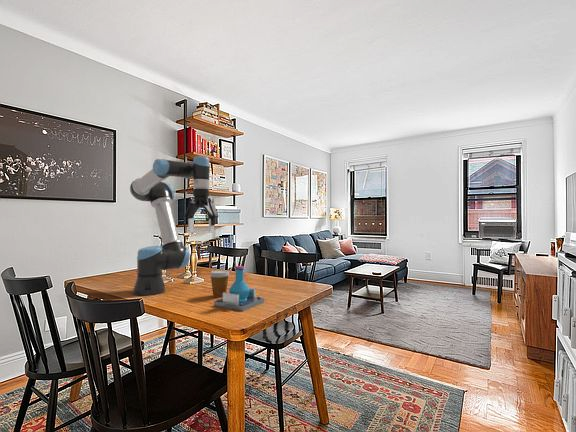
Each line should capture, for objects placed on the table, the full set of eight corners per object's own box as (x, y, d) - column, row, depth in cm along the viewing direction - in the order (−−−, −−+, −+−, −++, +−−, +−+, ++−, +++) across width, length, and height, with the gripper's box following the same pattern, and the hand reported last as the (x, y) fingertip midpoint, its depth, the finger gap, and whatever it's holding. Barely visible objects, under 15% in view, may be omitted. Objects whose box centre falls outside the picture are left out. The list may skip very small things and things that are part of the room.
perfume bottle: (230, 297, 150) (230, 264, 150) (249, 296, 151) (250, 264, 151) (228, 302, 141) (228, 268, 141) (249, 302, 141) (249, 267, 141)
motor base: (213, 305, 143) (213, 292, 143) (236, 297, 157) (236, 285, 157) (242, 311, 135) (242, 296, 135) (264, 302, 149) (264, 289, 149)
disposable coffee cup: (224, 298, 155) (225, 273, 155) (206, 297, 157) (206, 272, 157) (232, 294, 164) (232, 270, 164) (214, 292, 166) (214, 269, 166)
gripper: (177, 188, 160) (177, 231, 160) (215, 187, 148) (214, 233, 148) (188, 190, 167) (188, 231, 167) (226, 188, 155) (225, 232, 155)
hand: (200, 232), depth 158 cm, fingers open, 13 cm apart
